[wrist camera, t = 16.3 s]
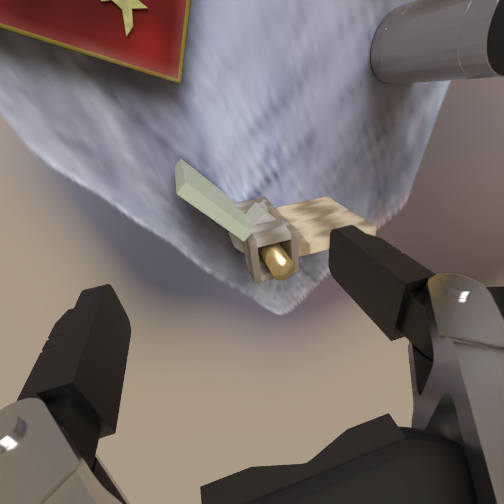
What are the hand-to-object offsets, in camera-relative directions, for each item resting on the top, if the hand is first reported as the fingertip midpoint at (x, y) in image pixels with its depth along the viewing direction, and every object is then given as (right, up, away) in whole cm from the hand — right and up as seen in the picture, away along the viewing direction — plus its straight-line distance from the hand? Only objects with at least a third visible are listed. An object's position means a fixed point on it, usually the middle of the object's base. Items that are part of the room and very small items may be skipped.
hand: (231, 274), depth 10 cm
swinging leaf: (-4, +9, +34) cm, 35 cm away
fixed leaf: (+6, +8, +38) cm, 39 cm away
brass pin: (0, +7, +37) cm, 38 cm away
